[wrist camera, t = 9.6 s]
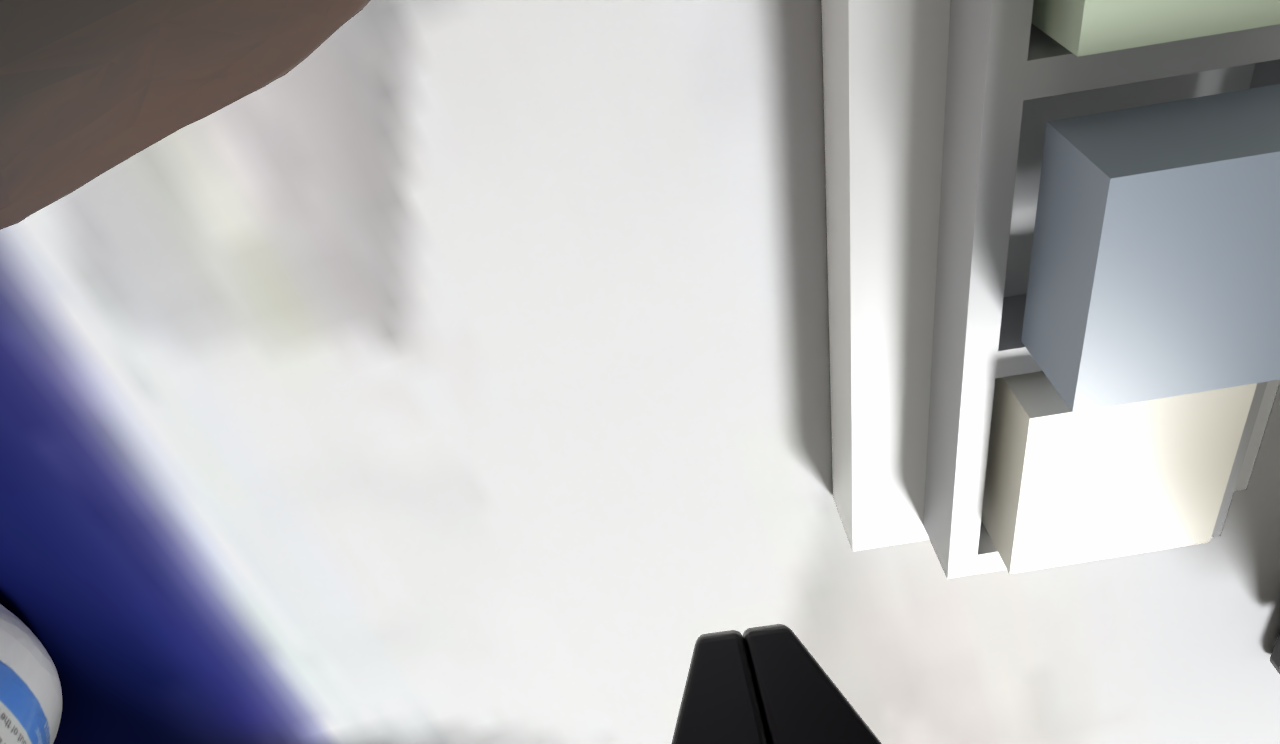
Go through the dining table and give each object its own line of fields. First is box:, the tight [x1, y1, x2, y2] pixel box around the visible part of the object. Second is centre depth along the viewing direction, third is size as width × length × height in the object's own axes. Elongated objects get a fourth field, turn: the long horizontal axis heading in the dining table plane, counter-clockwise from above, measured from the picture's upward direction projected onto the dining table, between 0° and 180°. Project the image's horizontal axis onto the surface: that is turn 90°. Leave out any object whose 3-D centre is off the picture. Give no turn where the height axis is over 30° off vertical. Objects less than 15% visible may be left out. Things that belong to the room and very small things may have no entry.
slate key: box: [1021, 84, 1280, 412], centre depth 15 cm, size 4×4×2 cm
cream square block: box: [981, 371, 1257, 574], centre depth 19 cm, size 4×4×2 cm
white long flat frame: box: [822, 0, 1280, 579], centre depth 16 cm, size 9×22×3 cm, turn 7°
